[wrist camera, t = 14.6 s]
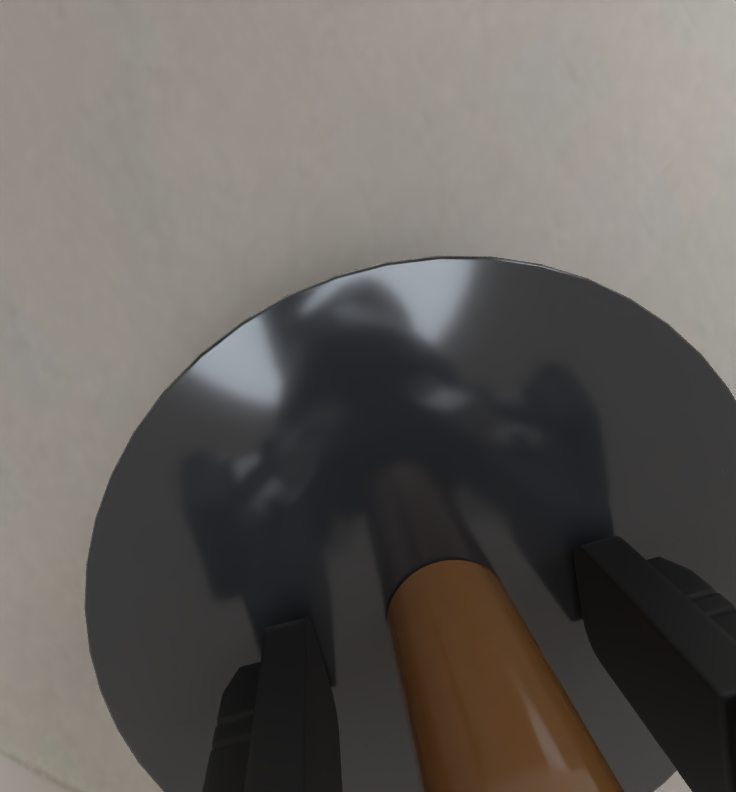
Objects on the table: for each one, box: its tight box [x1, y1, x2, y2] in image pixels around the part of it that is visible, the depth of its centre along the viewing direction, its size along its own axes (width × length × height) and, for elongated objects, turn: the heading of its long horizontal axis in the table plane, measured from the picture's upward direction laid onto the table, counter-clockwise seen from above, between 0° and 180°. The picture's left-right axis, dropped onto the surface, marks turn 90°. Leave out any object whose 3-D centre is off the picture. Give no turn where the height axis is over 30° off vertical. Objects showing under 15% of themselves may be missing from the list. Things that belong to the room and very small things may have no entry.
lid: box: [85, 256, 736, 792], centre depth 8 cm, size 12×12×5 cm
